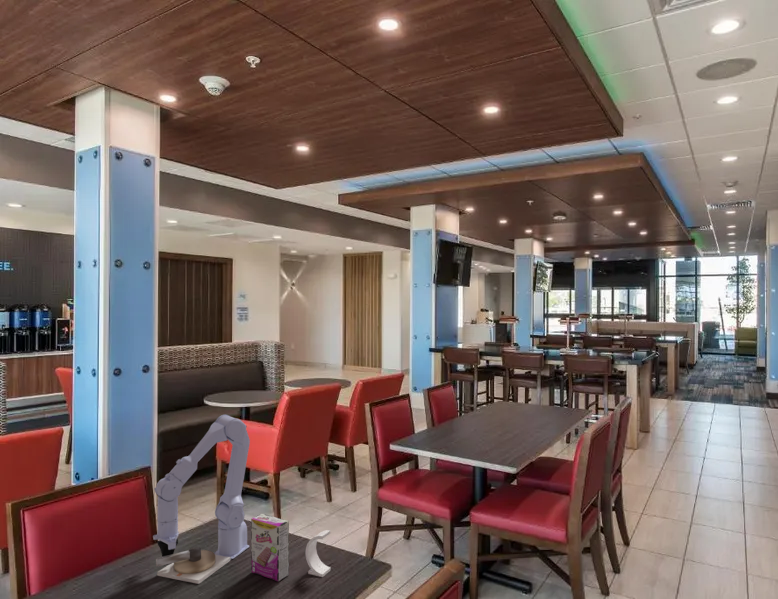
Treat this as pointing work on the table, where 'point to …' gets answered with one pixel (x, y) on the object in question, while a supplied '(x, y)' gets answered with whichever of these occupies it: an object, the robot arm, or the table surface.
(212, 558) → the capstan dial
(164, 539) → the robot arm
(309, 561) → the headphone stand
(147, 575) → the table surface
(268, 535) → the candy bar box
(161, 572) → the base plate
